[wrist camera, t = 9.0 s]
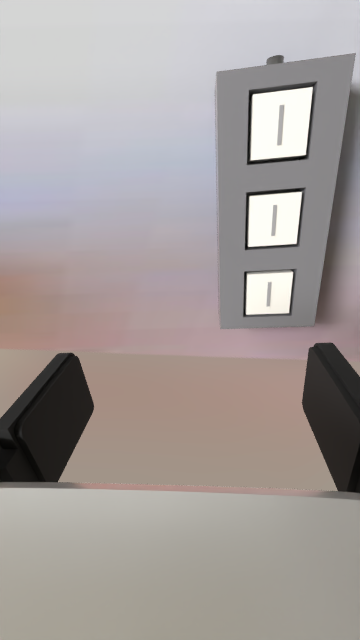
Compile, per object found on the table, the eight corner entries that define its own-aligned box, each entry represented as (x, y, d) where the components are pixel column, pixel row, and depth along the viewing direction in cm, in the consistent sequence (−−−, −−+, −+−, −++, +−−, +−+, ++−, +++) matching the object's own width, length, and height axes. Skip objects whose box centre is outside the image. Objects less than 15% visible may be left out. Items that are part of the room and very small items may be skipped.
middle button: (245, 195, 24) (250, 196, 21) (292, 191, 23) (302, 191, 21) (244, 241, 25) (248, 246, 23) (288, 239, 25) (296, 243, 23)
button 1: (243, 267, 27) (247, 274, 24) (285, 265, 26) (293, 272, 24) (242, 304, 28) (246, 314, 26) (282, 303, 28) (289, 313, 26)
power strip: (214, 72, 22) (216, 48, 18) (332, 56, 21) (359, 28, 17) (218, 312, 31) (220, 329, 27) (300, 309, 30) (314, 326, 26)
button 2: (248, 104, 21) (253, 94, 19) (301, 98, 21) (313, 86, 18) (246, 163, 23) (251, 160, 20) (295, 158, 22) (305, 154, 20)
